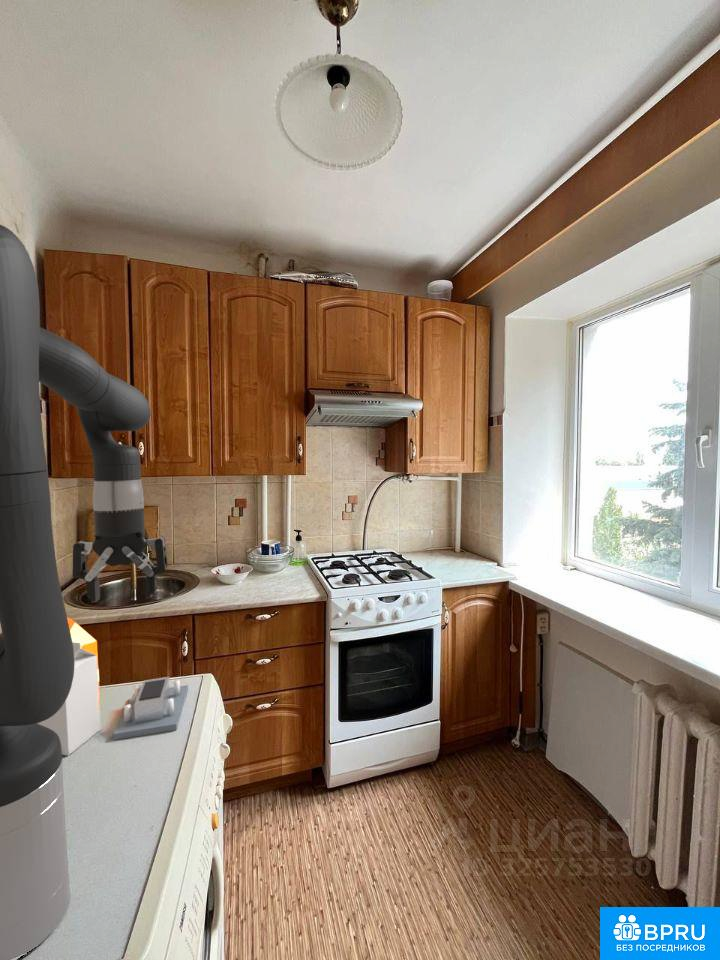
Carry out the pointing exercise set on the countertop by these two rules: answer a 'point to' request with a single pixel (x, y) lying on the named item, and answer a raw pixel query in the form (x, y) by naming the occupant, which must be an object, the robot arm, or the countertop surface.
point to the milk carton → (78, 704)
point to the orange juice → (83, 641)
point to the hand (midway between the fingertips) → (123, 598)
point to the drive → (152, 700)
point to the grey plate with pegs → (168, 723)
